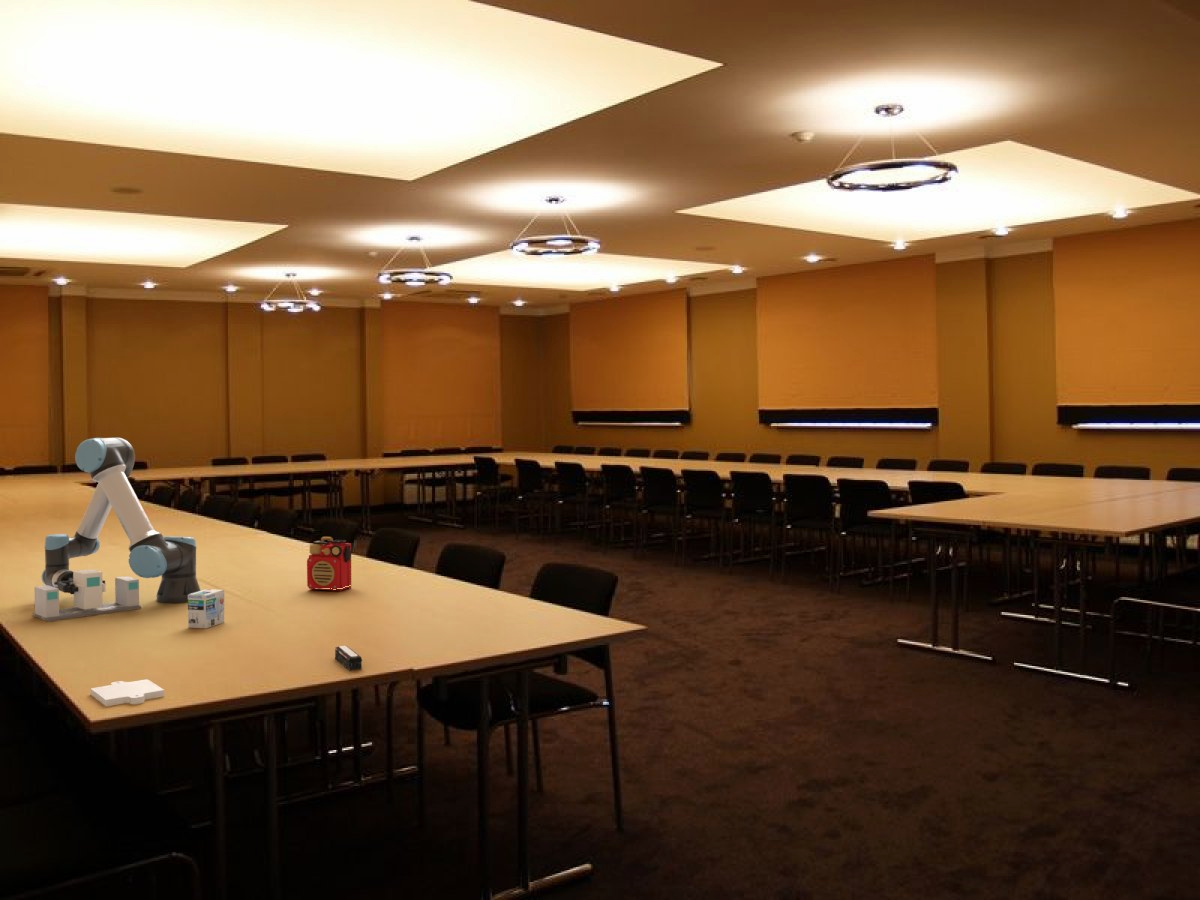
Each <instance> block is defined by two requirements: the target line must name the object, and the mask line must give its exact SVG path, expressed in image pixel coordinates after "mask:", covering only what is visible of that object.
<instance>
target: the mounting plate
mask: <svg viewBox="0 0 1200 900" xmlns="http://www.w3.org/2000/svg"><path fill="white" fill-rule="evenodd" d="M90 695H91V696H92V697H93V698H94V699H96V700H97V701H98V702H100V704H102V705H103V706H104V707H111V706H116V705H123V704H130V705H139V704H143V703H145V700H151V699H158V698H162V697H165V689H164V688H162V687H160V686H159V685H158V684H155V683H154V682H152V681H151V680H149V679H148V678H145V679H140V680H135V681H125V680H118V681H112V682H111V683H110V685H104V686H98V687H92V688H90Z"/></svg>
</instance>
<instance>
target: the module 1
mask: <svg viewBox="0 0 1200 900" xmlns="http://www.w3.org/2000/svg"><path fill="white" fill-rule="evenodd" d="M59 610H60V590H59V589H58V588H55V587H52V586H48V585H45V584H44V585H38V586H37V585H36V586H34V613H35V614H37V615H40V616H43V617H45V618H48V617H55V616H59Z"/></svg>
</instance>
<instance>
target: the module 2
mask: <svg viewBox="0 0 1200 900" xmlns="http://www.w3.org/2000/svg"><path fill="white" fill-rule="evenodd" d="M114 579H115V580H114V582H115V584H114V585H115V587H114V590H115V591H114V594H115V597H114V599H115V600H114V602H115V603H117V604H120V605H124V606H127V607H129V606H136V605H140V580H139V578H135V577H131V576H126V575H125V576H117V577H114Z"/></svg>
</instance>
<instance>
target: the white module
mask: <svg viewBox="0 0 1200 900" xmlns="http://www.w3.org/2000/svg"><path fill="white" fill-rule="evenodd" d="M72 571H73V583H74V586H75V584H78V585H82V586H85V594H84V595H82V594H79V593H76V592H74V594H73V607H74V608H75V607H78V608H81V609H84V610H85V609H92V608H100V607H103V604H104V603H103V602H104V599H103V598H104V597H103V596H104V595H103V593H104V592H102V580H103V571H99V570H96V569H92V568H89V569H80V570H72Z"/></svg>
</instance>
